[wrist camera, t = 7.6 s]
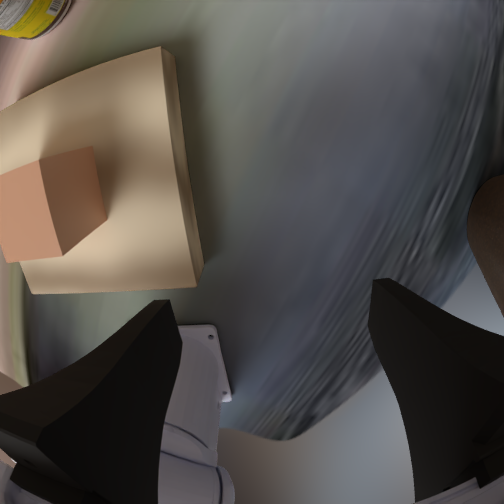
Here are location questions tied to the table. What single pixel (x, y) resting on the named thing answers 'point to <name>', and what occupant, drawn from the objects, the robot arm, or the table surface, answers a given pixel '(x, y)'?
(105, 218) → the terracotta block
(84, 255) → the maple base
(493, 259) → the plant pot
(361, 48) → the table surface
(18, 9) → the supplement bottle
